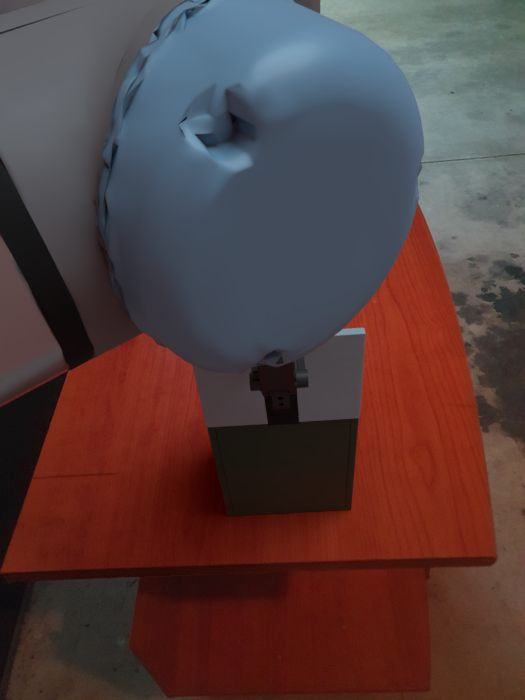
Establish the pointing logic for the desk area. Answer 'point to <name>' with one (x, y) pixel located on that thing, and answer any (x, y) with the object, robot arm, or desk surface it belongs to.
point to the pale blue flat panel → (312, 386)
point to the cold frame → (286, 466)
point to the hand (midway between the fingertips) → (283, 418)
